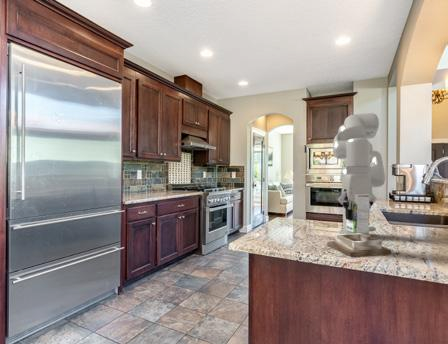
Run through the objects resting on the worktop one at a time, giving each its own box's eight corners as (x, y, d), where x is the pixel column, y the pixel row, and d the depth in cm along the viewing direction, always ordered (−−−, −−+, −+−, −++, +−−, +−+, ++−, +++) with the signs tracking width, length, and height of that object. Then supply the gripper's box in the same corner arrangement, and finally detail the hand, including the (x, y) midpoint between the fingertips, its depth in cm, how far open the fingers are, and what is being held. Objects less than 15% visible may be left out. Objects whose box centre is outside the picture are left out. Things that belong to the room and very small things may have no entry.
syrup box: (345, 229, 100) (345, 192, 100) (360, 229, 101) (360, 191, 101) (354, 233, 95) (354, 193, 95) (369, 233, 95) (369, 193, 95)
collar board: (363, 243, 106) (363, 232, 106) (391, 254, 93) (391, 241, 93) (327, 245, 104) (327, 234, 104) (350, 256, 90) (350, 243, 90)
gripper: (370, 171, 103) (370, 217, 103) (330, 171, 100) (330, 218, 100) (385, 171, 96) (385, 220, 96) (342, 171, 93) (342, 222, 93)
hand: (357, 219), depth 98 cm, fingers closed on syrup box, 6 cm apart
